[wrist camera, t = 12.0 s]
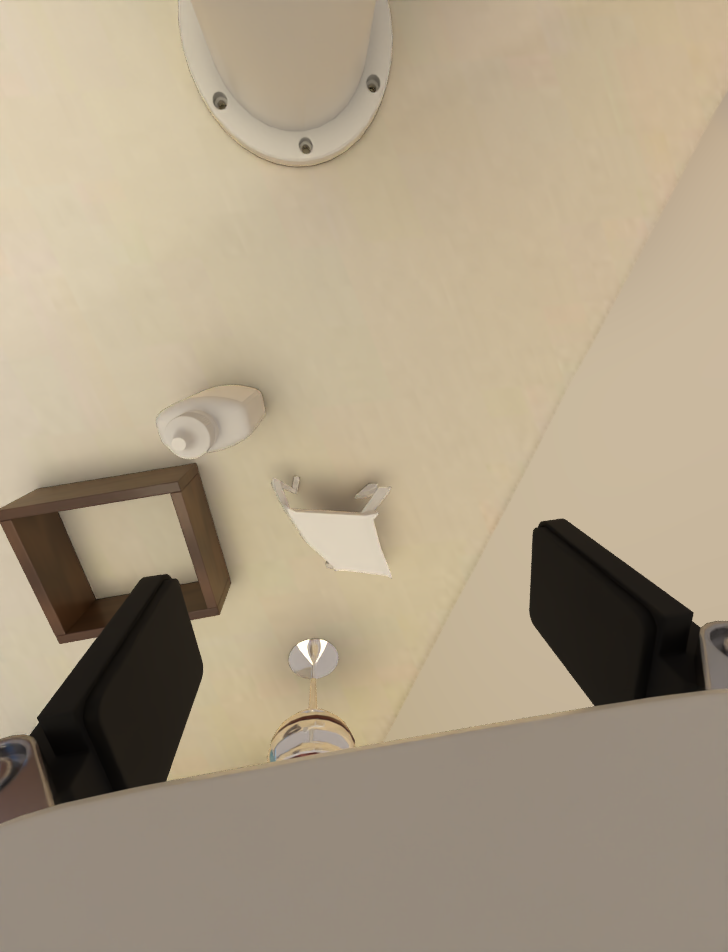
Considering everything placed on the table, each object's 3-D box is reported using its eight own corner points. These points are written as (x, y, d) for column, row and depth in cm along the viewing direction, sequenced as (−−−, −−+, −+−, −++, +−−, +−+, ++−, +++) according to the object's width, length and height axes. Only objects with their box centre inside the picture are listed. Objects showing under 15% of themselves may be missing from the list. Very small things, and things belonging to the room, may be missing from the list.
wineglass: (265, 652, 39) (244, 778, 28) (325, 620, 39) (327, 734, 28) (302, 696, 42) (296, 829, 30) (359, 666, 41) (375, 789, 30)
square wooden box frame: (37, 488, 32) (-7, 511, 28) (196, 462, 33) (177, 481, 28) (90, 608, 36) (59, 644, 32) (231, 583, 36) (220, 615, 32)
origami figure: (416, 488, 35) (431, 510, 31) (379, 566, 38) (388, 598, 33) (286, 440, 33) (280, 456, 28) (254, 527, 35) (244, 556, 30)
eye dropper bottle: (200, 366, 30) (130, 381, 19) (272, 394, 32) (246, 424, 20) (185, 419, 31) (110, 464, 20) (255, 444, 33) (221, 500, 21)
